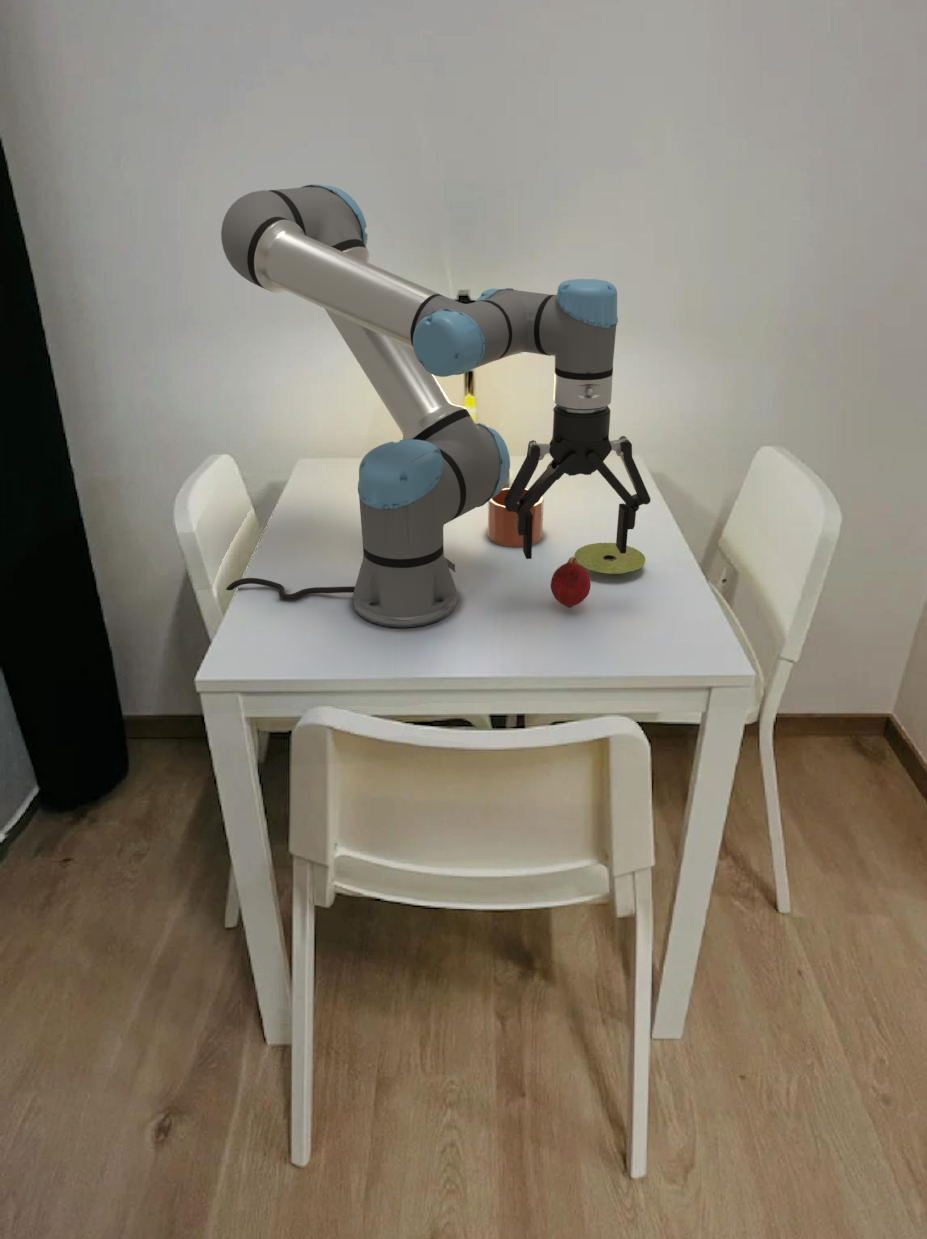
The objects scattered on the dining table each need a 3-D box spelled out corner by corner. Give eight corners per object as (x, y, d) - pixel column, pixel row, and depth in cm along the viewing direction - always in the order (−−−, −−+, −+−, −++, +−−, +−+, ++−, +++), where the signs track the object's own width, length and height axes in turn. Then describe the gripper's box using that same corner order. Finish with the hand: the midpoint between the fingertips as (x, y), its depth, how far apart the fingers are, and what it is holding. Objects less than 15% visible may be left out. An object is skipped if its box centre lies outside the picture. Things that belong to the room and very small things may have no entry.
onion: (587, 618, 132) (590, 568, 128) (547, 614, 133) (549, 565, 129) (590, 599, 137) (594, 551, 133) (552, 596, 138) (554, 548, 134)
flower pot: (491, 548, 153) (492, 509, 149) (484, 526, 161) (485, 488, 157) (546, 545, 154) (547, 507, 150) (536, 523, 162) (537, 486, 158)
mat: (640, 587, 140) (641, 576, 139) (567, 579, 143) (568, 567, 142) (647, 557, 150) (649, 546, 149) (579, 549, 152) (580, 538, 151)
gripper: (491, 418, 116) (491, 568, 126) (683, 409, 118) (667, 558, 128) (484, 401, 122) (484, 546, 133) (665, 393, 124) (651, 536, 135)
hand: (574, 552), depth 131 cm, fingers open, 13 cm apart
